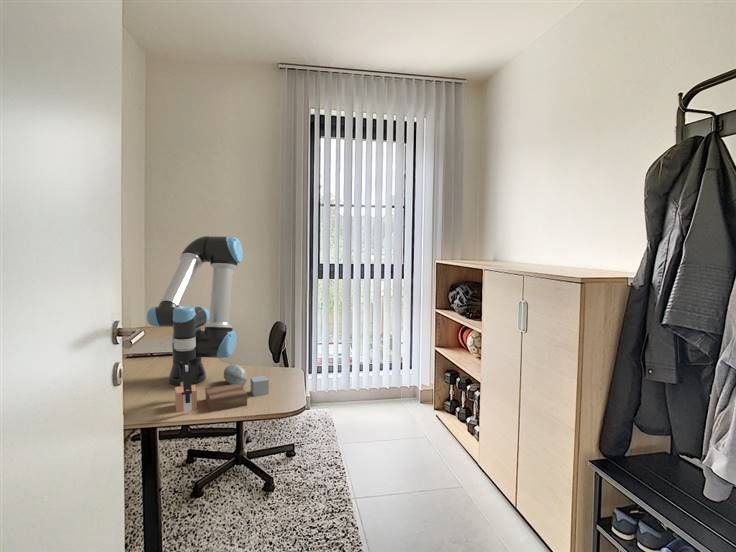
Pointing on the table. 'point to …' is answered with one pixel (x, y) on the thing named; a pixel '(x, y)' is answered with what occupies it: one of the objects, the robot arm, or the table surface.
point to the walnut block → (225, 397)
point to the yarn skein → (235, 374)
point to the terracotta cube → (180, 398)
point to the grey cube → (259, 385)
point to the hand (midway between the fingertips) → (186, 404)
